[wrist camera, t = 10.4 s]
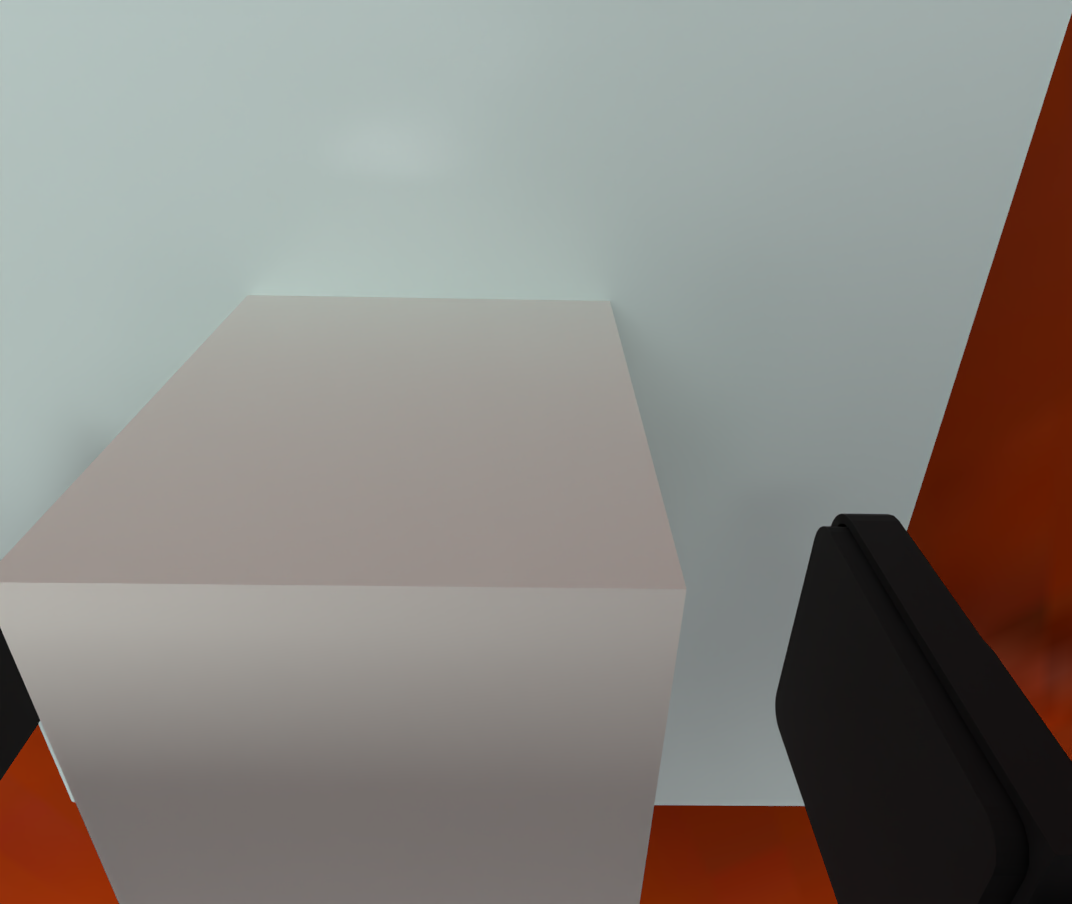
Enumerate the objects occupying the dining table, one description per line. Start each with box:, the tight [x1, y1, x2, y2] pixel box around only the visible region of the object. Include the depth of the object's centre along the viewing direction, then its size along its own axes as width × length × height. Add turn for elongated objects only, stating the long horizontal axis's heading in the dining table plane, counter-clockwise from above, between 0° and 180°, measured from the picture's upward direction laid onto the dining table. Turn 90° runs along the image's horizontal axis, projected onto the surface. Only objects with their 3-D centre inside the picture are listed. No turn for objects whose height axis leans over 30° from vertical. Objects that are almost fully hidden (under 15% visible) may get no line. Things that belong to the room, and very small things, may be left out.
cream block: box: [0, 295, 687, 904], centre depth 9 cm, size 4×4×6 cm
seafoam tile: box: [0, 0, 1072, 806], centre depth 12 cm, size 14×14×1 cm
